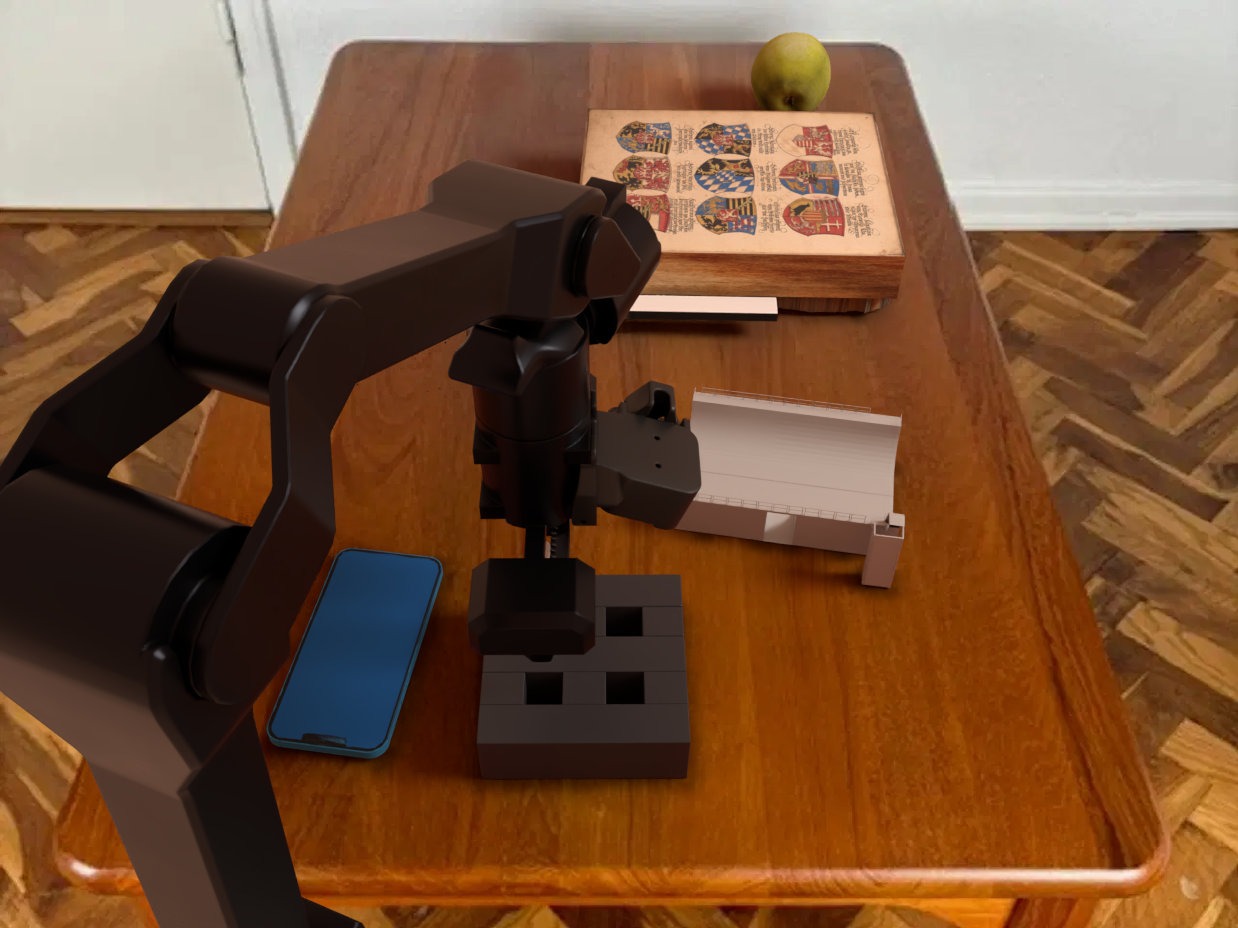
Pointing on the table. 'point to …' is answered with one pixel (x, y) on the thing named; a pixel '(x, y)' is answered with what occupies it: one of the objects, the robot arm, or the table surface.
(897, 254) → the book
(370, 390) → the table surface
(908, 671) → the table surface
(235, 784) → the robot arm
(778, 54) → the apple
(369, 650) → the smartphone
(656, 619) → the pen stand
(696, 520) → the skate ramp
